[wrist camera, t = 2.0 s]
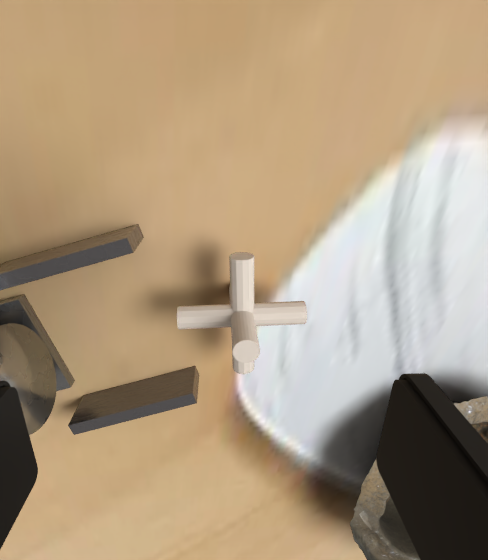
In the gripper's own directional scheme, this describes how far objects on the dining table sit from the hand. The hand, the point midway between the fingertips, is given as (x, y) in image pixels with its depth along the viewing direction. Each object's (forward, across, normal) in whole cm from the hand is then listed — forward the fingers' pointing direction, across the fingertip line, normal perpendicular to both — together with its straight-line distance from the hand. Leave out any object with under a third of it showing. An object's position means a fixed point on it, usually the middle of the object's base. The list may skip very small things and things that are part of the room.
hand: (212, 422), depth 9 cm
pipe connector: (+23, -2, +6) cm, 24 cm away
